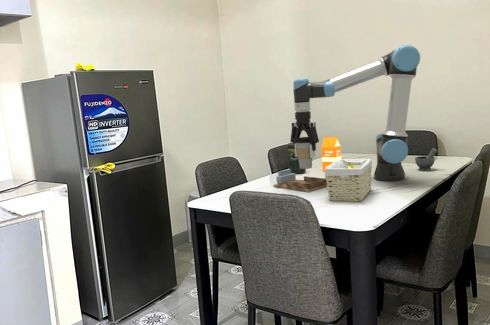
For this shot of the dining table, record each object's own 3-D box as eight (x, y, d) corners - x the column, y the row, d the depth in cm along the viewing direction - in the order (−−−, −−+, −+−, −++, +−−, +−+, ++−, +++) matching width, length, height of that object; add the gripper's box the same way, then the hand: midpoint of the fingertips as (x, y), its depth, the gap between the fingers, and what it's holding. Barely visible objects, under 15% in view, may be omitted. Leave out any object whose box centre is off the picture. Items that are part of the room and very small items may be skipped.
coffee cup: (314, 169, 206) (313, 138, 204) (295, 169, 208) (293, 139, 206) (315, 165, 215) (314, 136, 213) (297, 166, 217) (295, 137, 215)
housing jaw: (295, 180, 226) (295, 168, 225) (280, 183, 219) (280, 172, 218) (291, 179, 229) (290, 168, 228) (276, 183, 222) (276, 171, 221)
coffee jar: (307, 171, 256) (305, 141, 253) (302, 174, 249) (300, 142, 246) (292, 171, 260) (290, 141, 257) (287, 174, 253) (285, 143, 251)
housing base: (330, 186, 212) (329, 178, 211) (308, 192, 202) (308, 184, 201) (295, 181, 230) (294, 174, 230) (273, 187, 220) (273, 180, 220)
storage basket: (362, 202, 176) (361, 167, 174) (324, 201, 184) (322, 167, 181) (374, 189, 197) (372, 158, 195) (339, 189, 204) (337, 158, 202)
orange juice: (336, 172, 247) (334, 137, 244) (322, 171, 253) (320, 138, 250) (341, 169, 253) (340, 136, 250) (328, 169, 259) (326, 136, 256)
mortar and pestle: (413, 171, 231) (412, 149, 230) (417, 168, 239) (417, 147, 237) (435, 172, 225) (435, 149, 223) (439, 168, 233) (438, 147, 231)
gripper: (281, 112, 214) (284, 156, 217) (314, 111, 197) (317, 159, 200) (291, 111, 218) (294, 154, 222) (325, 110, 201) (327, 156, 205)
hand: (305, 156), depth 211 cm, fingers closed on coffee cup, 9 cm apart
